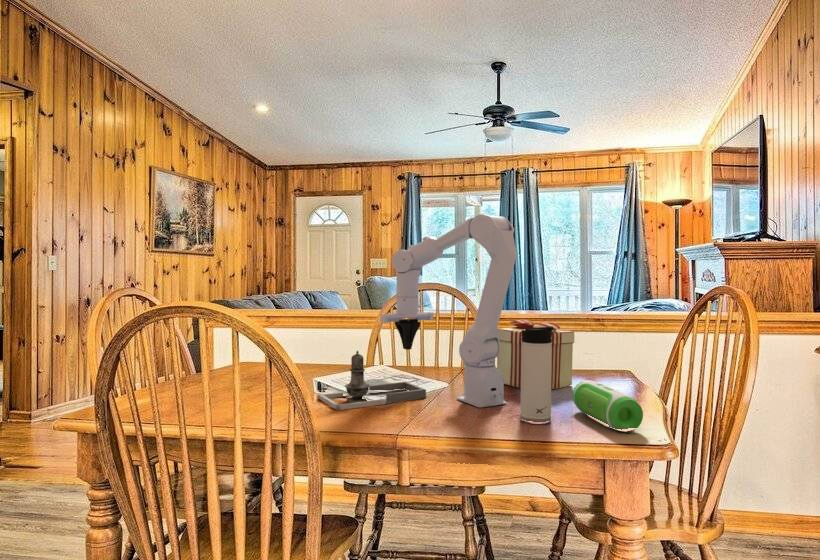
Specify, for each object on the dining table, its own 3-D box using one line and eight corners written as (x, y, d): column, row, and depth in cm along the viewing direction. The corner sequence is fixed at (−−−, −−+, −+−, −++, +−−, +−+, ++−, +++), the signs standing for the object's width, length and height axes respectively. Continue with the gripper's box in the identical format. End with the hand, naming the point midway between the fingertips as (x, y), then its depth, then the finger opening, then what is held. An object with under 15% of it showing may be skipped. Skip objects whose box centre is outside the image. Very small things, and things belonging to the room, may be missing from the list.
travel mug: (546, 426, 116) (548, 328, 116) (515, 421, 120) (517, 326, 119) (556, 419, 122) (557, 325, 121) (526, 414, 125) (527, 323, 124)
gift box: (581, 384, 156) (582, 321, 156) (539, 394, 144) (540, 326, 144) (531, 374, 169) (532, 316, 169) (489, 383, 157) (489, 320, 157)
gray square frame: (385, 403, 134) (385, 399, 134) (337, 410, 128) (337, 405, 128) (364, 393, 144) (364, 389, 144) (318, 398, 139) (318, 394, 139)
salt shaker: (368, 403, 134) (368, 352, 134) (343, 403, 134) (343, 352, 134) (371, 397, 140) (371, 348, 139) (347, 397, 140) (346, 348, 140)
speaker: (569, 412, 128) (570, 378, 128) (599, 410, 130) (600, 377, 129) (610, 436, 111) (611, 397, 111) (645, 434, 112) (645, 396, 112)
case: (426, 397, 140) (426, 389, 140) (387, 402, 135) (387, 394, 135) (405, 389, 149) (405, 381, 149) (369, 393, 144) (369, 385, 144)
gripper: (423, 295, 156) (423, 344, 156) (375, 296, 149) (375, 348, 149) (437, 296, 150) (437, 348, 150) (387, 298, 143) (387, 352, 143)
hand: (407, 349), depth 149 cm, fingers closed
